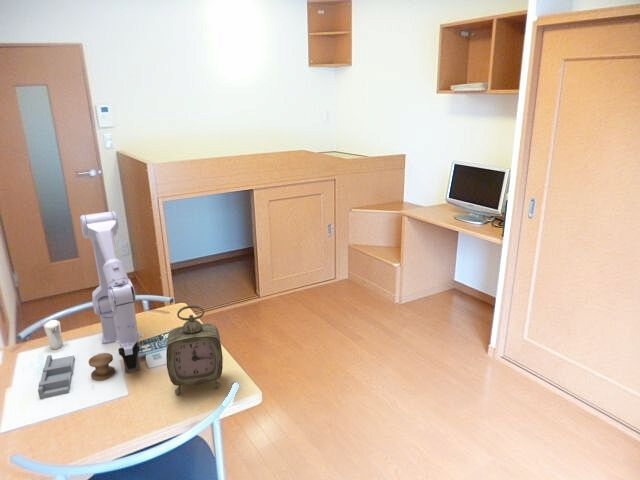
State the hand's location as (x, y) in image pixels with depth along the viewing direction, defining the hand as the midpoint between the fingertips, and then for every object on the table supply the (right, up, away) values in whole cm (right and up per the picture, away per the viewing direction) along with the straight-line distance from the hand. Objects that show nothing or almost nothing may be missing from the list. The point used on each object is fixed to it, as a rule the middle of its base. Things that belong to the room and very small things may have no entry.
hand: (131, 363), depth 137 cm
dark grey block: (0, -1, 0) cm, 1 cm away
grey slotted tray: (-20, -3, -4) cm, 20 cm away
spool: (-7, -2, -2) cm, 8 cm away
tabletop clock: (+22, -4, -7) cm, 23 cm away
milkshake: (-30, +2, +12) cm, 32 cm away
